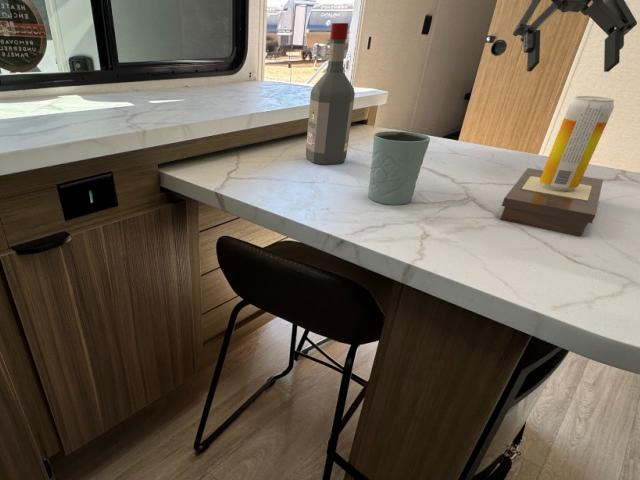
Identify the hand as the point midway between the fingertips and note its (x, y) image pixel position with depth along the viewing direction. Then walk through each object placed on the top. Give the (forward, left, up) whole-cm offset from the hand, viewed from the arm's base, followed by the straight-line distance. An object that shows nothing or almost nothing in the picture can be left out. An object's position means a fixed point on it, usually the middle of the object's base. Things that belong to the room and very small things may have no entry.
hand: (571, 67), depth 78 cm
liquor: (+45, -7, -23) cm, 51 cm away
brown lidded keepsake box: (-1, +15, -23) cm, 27 cm away
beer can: (-1, +15, -19) cm, 24 cm away
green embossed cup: (+28, +18, -23) cm, 40 cm away
